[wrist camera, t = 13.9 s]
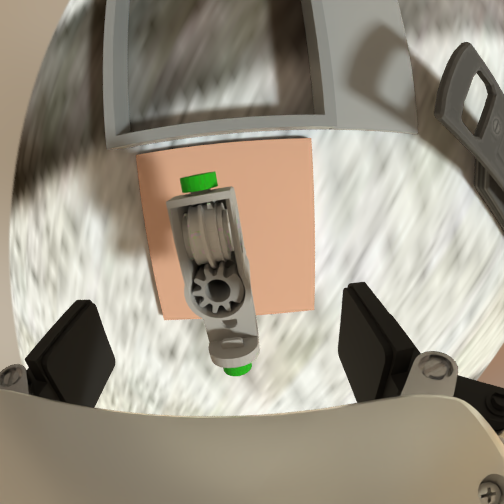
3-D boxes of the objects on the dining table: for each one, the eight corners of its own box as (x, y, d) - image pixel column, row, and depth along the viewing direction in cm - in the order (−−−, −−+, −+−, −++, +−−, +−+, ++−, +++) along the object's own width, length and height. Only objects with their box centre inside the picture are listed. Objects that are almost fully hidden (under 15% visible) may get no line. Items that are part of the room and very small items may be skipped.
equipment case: (387, -19, 15) (400, -32, 13) (413, 133, 21) (432, 133, 18) (122, -12, 15) (110, -26, 13) (122, 148, 21) (106, 149, 18)
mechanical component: (221, 297, 24) (209, 381, 15) (196, 170, 21) (158, 183, 11) (257, 292, 24) (265, 375, 15) (237, 163, 21) (230, 169, 11)
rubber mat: (309, 138, 21) (311, 138, 20) (312, 306, 25) (314, 309, 25) (138, 154, 21) (135, 154, 20) (165, 316, 25) (164, 319, 25)
